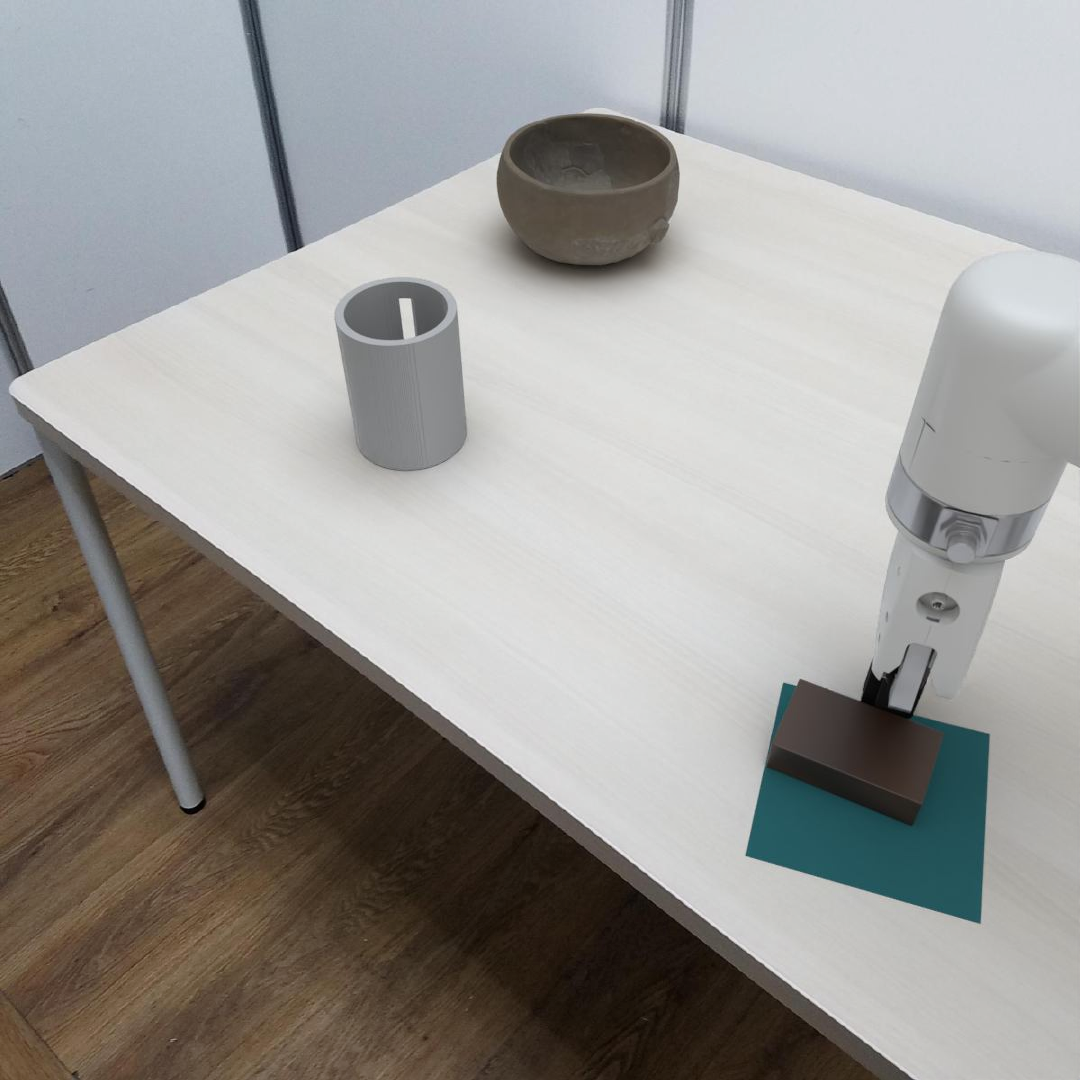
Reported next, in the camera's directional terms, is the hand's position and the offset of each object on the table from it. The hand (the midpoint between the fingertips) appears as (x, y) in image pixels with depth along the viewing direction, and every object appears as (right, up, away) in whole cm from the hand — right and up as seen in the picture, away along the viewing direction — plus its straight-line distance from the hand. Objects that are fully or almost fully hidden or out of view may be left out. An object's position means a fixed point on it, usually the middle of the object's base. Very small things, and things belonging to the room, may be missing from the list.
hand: (886, 703), depth 68 cm
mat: (-2, -5, -3) cm, 6 cm away
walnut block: (-3, -3, -2) cm, 5 cm away
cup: (-33, +19, +21) cm, 43 cm away
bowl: (-17, +41, +42) cm, 61 cm away
